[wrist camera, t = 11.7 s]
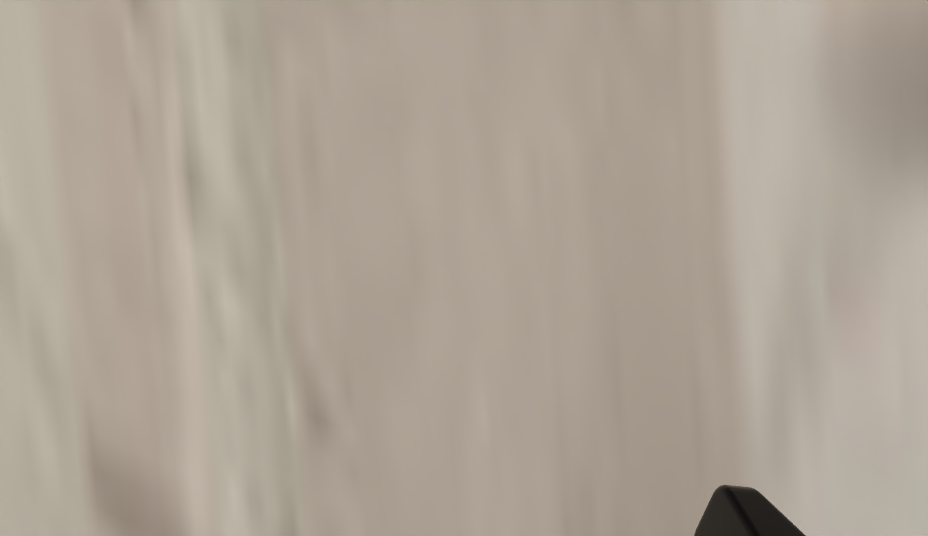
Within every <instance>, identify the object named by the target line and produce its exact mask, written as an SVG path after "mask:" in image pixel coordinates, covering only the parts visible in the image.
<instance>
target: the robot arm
mask: <svg viewBox="0 0 928 536" xmlns="http://www.w3.org/2000/svg"><path fill="white" fill-rule="evenodd" d="M694 536H805V535H804V534H803V533H802V532H801V531H800V530H799V529H798V528H797V527H796V526H795V525H794V524H793V523H792V522H791V521H789V520H788V519H787V518H786V517H785V516H784V515H783V514H782V513H781V512H780V511H779V510H778V509H777V508H776V507H775V506H774V505H772V504H771V503H770V502H769V501H768V500H767V499H766V498H765V497H764V496H763V495H762V494H761V493H759V492H758V491H757V490H755V489H753V488H750V487H741V486H730V485H723V486H720V487H718V488H717V489H716V490H715V492H714V493H713V495H712V497H711V499H710V501H709V504H708V506H707V508H706V510H705V512H704V514H703V516H702V518H701V520H700V523H699V525H698V527H697V529H696V532H695V535H694Z"/></svg>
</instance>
